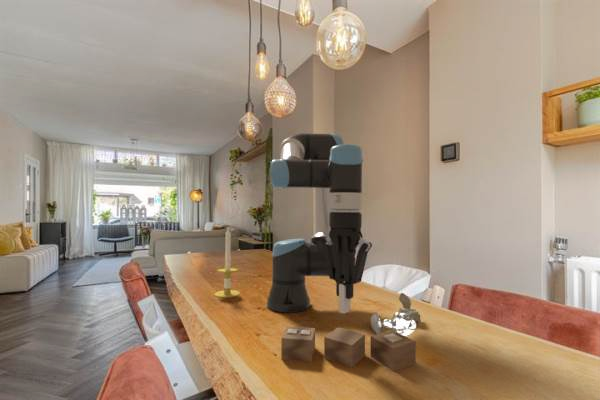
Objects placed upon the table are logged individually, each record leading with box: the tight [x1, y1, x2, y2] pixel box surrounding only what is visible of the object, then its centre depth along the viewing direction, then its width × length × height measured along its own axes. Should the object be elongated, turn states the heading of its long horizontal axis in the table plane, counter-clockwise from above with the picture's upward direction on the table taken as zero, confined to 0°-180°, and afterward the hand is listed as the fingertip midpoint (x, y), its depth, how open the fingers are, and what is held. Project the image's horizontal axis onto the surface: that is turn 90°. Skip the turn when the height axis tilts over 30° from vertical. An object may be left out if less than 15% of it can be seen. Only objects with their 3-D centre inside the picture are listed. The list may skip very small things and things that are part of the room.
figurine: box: [370, 311, 417, 337], centre depth 84 cm, size 9×6×12 cm
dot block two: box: [280, 325, 316, 363], centre depth 72 cm, size 7×7×5 cm
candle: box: [214, 227, 241, 299], centre depth 121 cm, size 10×10×27 cm
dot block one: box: [370, 330, 417, 372], centre depth 69 cm, size 7×7×5 cm
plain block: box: [323, 327, 366, 368], centre depth 70 cm, size 7×7×5 cm
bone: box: [397, 292, 422, 325], centre depth 92 cm, size 9×6×10 cm
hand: (344, 311), depth 71 cm, fingers closed
